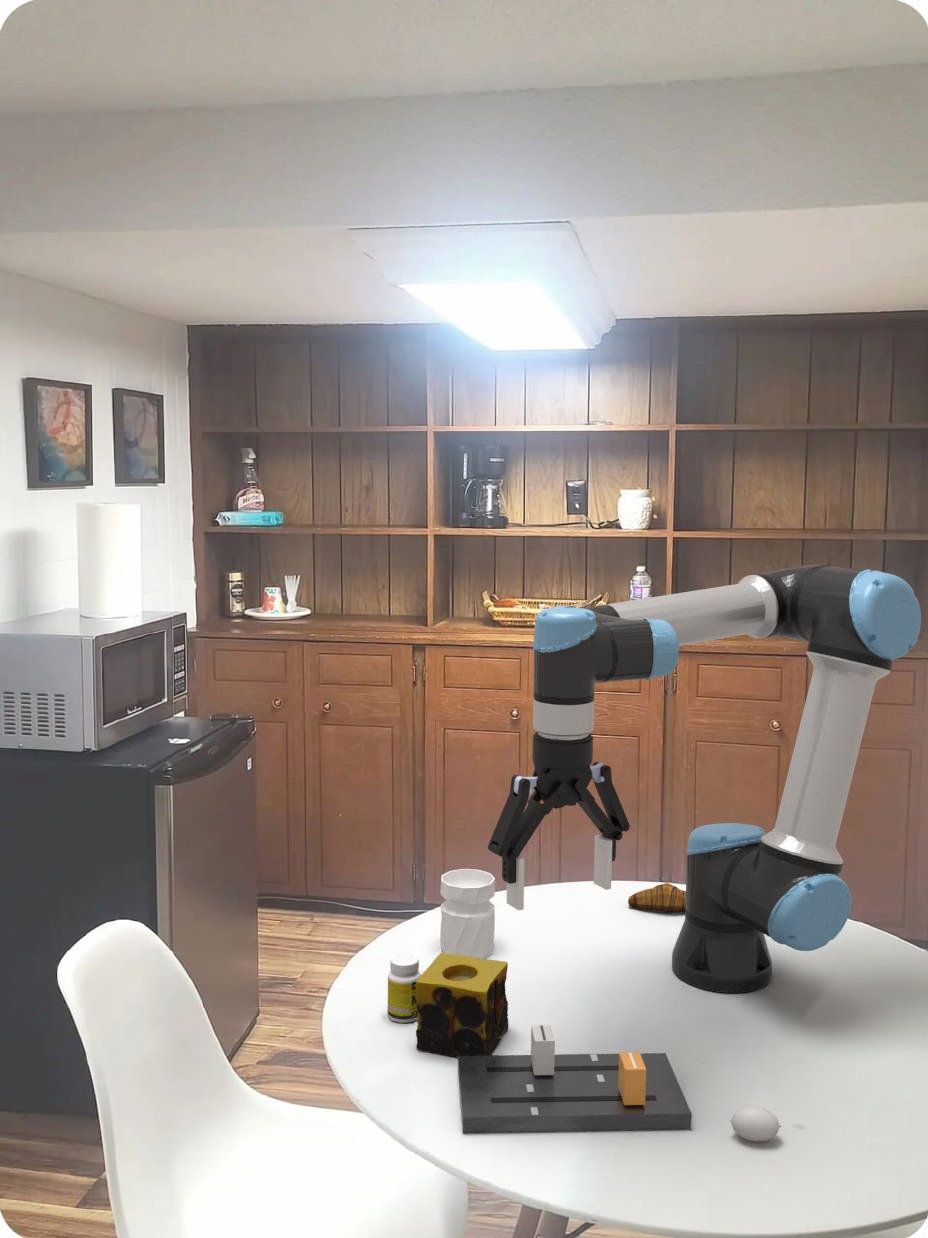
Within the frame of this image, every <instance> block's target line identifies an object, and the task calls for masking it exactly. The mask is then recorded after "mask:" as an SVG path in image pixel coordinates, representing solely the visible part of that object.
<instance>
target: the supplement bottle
mask: <svg viewBox="0 0 928 1238" xmlns="http://www.w3.org/2000/svg"><path fill="white" fill-rule="evenodd" d="M419 962H420V961H419V957H418V956H416V955H414V954H410V953H401V954H395V955H393V956H392V957H391V958H390V970H389V972H388V974H387V1017H388V1018H389V1019H390V1020H391V1021H392V1022H396V1023H403V1024H406V1023H412V1022H416V1021H417V1020H418V1019H417V1012H418V1010H417V1005H416V980H417V979H418V978H419V977H420V976H421V975H422V973H421V971H420V969H419V968H420V963H419Z"/></svg>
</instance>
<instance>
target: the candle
mask: <svg viewBox="0 0 928 1238" xmlns="http://www.w3.org/2000/svg"><path fill="white" fill-rule="evenodd" d="M508 964H509V963H508V962H507V961H505V960H496V959H495V960H494V959H489V958H487V959H486V958H485V959H482V958H474V957H468V956H461V955H454V954H446V953H443V952H440V953H439V954H438V955H437V956H436V957H435V959H434V960H433V961H432V962H431V964H429V966H428V967H427V968H426V969H425V970H424V971H423V972H422V973H421V976H420V977H419V978H418V979H417V980H416V1005H417V1010H418V1012H417V1020H416V1021H417V1025H416V1026H417V1027H416V1030H415V1037H416V1045H415V1047H416V1049H417V1050H419V1051H422V1052H427V1053H432V1054H438V1055H441V1056H447V1057H454V1058H458V1056H487V1055H492V1053H494V1052H495V1050H496V1049H497V1047H498V1046H499V1044H500V1042H501V1041H502V1039H501V1037H502V1036H503V1035H504V1034H505V1033H506V1032H508V1029H509V1027H510V1026H509V1018H508V1016H509V1007H508V1006H509V1002H508V998H507V993H506V981H507V977H508V976H507V975H508V974H507V973H508V967H509V965H508Z"/></svg>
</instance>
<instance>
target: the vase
mask: <svg viewBox="0 0 928 1238" xmlns="http://www.w3.org/2000/svg"><path fill="white" fill-rule="evenodd" d="M440 881H441V882H440V893H439V894H440V895H441V896H442V897H443V898H444V899H445V901H444V902H443V903H442V904H440V912H441V914H440V915H441V921H440V935H439V936H440V938H439V939H440V947H441V953H446V954H454V955H461V956H468V957H474V958H482V959H486V958H487V959H488V957H490V956H492V955H493V953H494V949H495V925H496V923H495V922H496V921H495V920H496V919H495V917H496V916H495V915H496V914H495V912H496V911H495V904H494V903H492V902H491V901H490V900H491V899H492V898H494V897H495V892H496V878H495V877H494V876H493V874H491V873H490V872H488V871H484V870H481V869H473V868H472V869H471V868H461V869H453V870H450V871H447V872H445V873H443V874H441V880H440Z"/></svg>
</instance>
